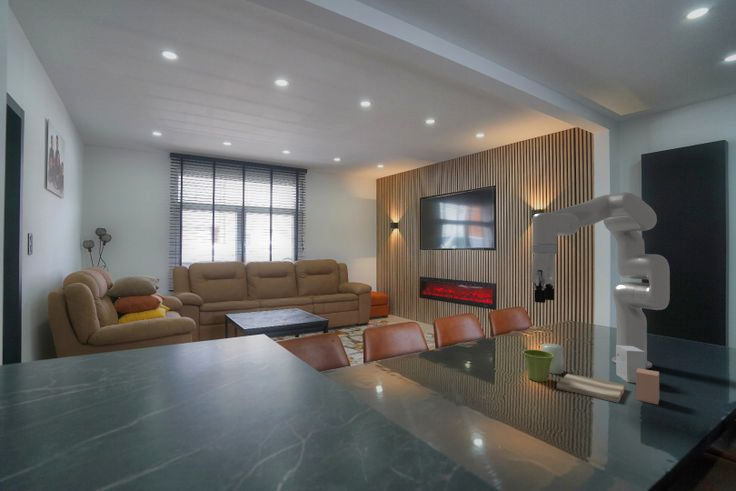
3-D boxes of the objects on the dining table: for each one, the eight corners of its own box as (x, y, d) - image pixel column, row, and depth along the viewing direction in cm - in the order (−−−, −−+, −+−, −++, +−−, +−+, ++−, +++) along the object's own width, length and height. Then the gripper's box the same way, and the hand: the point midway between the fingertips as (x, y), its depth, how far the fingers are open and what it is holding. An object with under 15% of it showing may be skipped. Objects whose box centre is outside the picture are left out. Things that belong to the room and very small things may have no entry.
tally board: (568, 377, 124) (568, 373, 124) (625, 389, 114) (625, 384, 114) (556, 388, 114) (556, 383, 114) (618, 402, 103) (618, 397, 103)
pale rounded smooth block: (545, 366, 136) (545, 342, 137) (565, 370, 132) (565, 345, 132) (539, 371, 131) (539, 345, 131) (560, 375, 126) (560, 349, 127)
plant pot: (553, 377, 125) (553, 351, 125) (554, 386, 116) (554, 358, 116) (523, 373, 129) (523, 348, 129) (522, 381, 120) (522, 354, 120)
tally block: (638, 394, 110) (637, 368, 110) (659, 399, 106) (659, 371, 106) (636, 399, 106) (635, 372, 106) (658, 404, 103) (657, 376, 103)
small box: (646, 384, 119) (646, 351, 119) (627, 382, 120) (626, 350, 120) (633, 376, 127) (633, 345, 127) (615, 374, 128) (615, 344, 128)
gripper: (540, 250, 131) (540, 298, 131) (524, 249, 118) (524, 302, 118) (563, 250, 126) (563, 300, 126) (549, 249, 113) (549, 304, 113)
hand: (544, 301), depth 122 cm, fingers open, 9 cm apart
